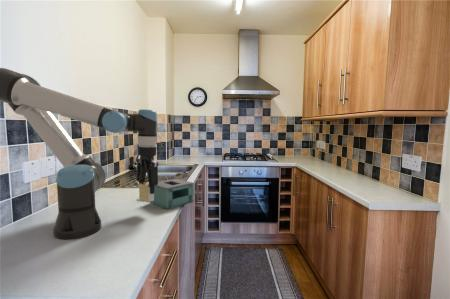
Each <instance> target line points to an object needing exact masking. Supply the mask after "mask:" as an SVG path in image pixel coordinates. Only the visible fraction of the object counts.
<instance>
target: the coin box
mask: <svg viewBox="0 0 450 299" xmlns="http://www.w3.org/2000/svg"><path fill="white" fill-rule="evenodd" d="M149 203H150V204H152V205H155V206H156V207H159V208H161V209H162V208H163V209H165V210H170V209H173V208H177V207H181V206H185V205H188V204H191V203H194V182H191V181H187V180H183V179H181V178H180V179H179V178H173V179H166V180H161V181H158V185H155V187H154V201H151V202H149Z"/></svg>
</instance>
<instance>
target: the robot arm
mask: <svg viewBox="0 0 450 299" xmlns="http://www.w3.org/2000/svg"><path fill="white" fill-rule="evenodd" d="M0 102H1V103H6V104H8V106H9V108H11V109H12V111H13V112H14V113H15V114H16V115H20V116H23V117H24V119H26V121H27V123H29V125H30V126H31V128H32V129H33V130H34V131H35V132H36V134H37V135H38V136H39V137H40V138H41V140H42V141H43V142H44V144H45V145H46V146H47V147H48V148H49V149H50V151H51V152H52V154H53V155H54V157H55V158H56V159H58V161H59V163H60V164H61V165H62V166H63V167H61V168H60V169H59V170H58V171H57V173H56V179H55V181H56V189H57V192H56V194H57V207H58V211H57V216H56V218H55V223H54V226H53V228H52V229H53V236H54V238H57V239H60V240H61V239H62V240H72V239H73V240H74V239H80V238H84V237H87V236H90V235H93V234H95V233H98V232H99V231H100V230H101V229H102V220H101V217H100V215H99V212H98V210H97V208H96V192H97V191H99V190H100V189H101V188H102V187H103V186H104V184H105V182H106V181H107V180H106V179H107V172H106V170H105V168H104V166H102V165H101V164H99V163H98V162H96V161H95V160H94V159H93V157H92V156H91V155H90V154H89V155H88V154H85V153H84V152H83V151H82V149H81V148H80V147H79V145H78V144H77V143H76V142H75V140H73V138H72V136H70V134H69V133H68V131H67V130H66V129H65V127H64V126H63V125H62V124H61V122H60V121H59V120H58V119H57V117H56V116H55V115H57V116H61V117H65V118H67V119H71V120H74V121H78V122H81V123H84V124H87V125H90V126H94V127H96V128H99V129H102V130H106V131H108V132H110V133H112V134H118V133H122V132H123V133H124V132H130V133H131V132H132V133H133V132H134V133H137V142H138V143H137V146H138V147H137V155H138V156H140V157H139V158H136V177H135V180H136V181H137V182H138V186H139V187H138V189H139V190H138V192H139V193H138V195H139V196H138V197H139V199H140V183H147V181H148V182H149V185H148V198H147V201H148V202H147V203H150V202H149V201H154V187H155V185H158V182H159V170H158V168H159V162H158V161H155V156H157V141H158V140H157V134H158V131H157V130H158V129H157V128H158V127H157V126H158V118H157V116H158V115H157V111H156V110H153V109H139V110H138V111H137V113H123V112H120V111H117V110H113V109H110V108H107V107H104V106H102V105H99V104H95V103H92V102H89V101H86V100H83V99H80V98H77V97H74V96H71V95H69V94H65V93H61V92H58V91H56V90H54V89H50V88H47V87H44V86H42V85H41V84H40V82H38V81H37V80H36V79H35V78H33V77H31V76H30V75H27V74H24V73H20V72H18V71H14V70H11V69H8V68H5V67H0ZM146 178H147V181H146Z"/></svg>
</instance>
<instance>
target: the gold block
mask: <svg viewBox="0 0 450 299" xmlns="http://www.w3.org/2000/svg"><path fill="white" fill-rule="evenodd" d="M148 185H149V183H147V182H144V183H140V198H139V199H140V200H141V201H144V202H146V203H150V202H151V201H149V202H148V201H147V198H148Z"/></svg>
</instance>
